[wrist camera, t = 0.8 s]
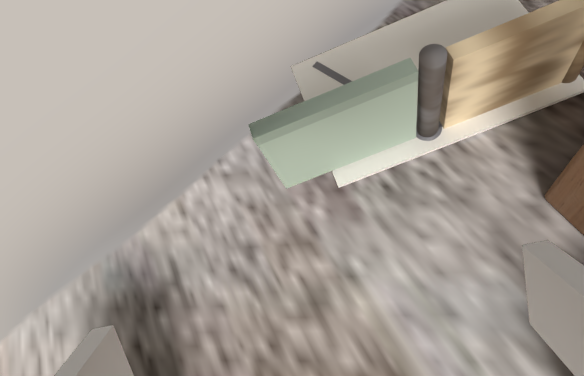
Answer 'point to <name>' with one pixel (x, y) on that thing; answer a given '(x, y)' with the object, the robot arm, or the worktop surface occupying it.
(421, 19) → the card
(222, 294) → the worktop surface
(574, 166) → the wooden block
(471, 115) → the fixed fence section
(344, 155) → the hinged fence section
